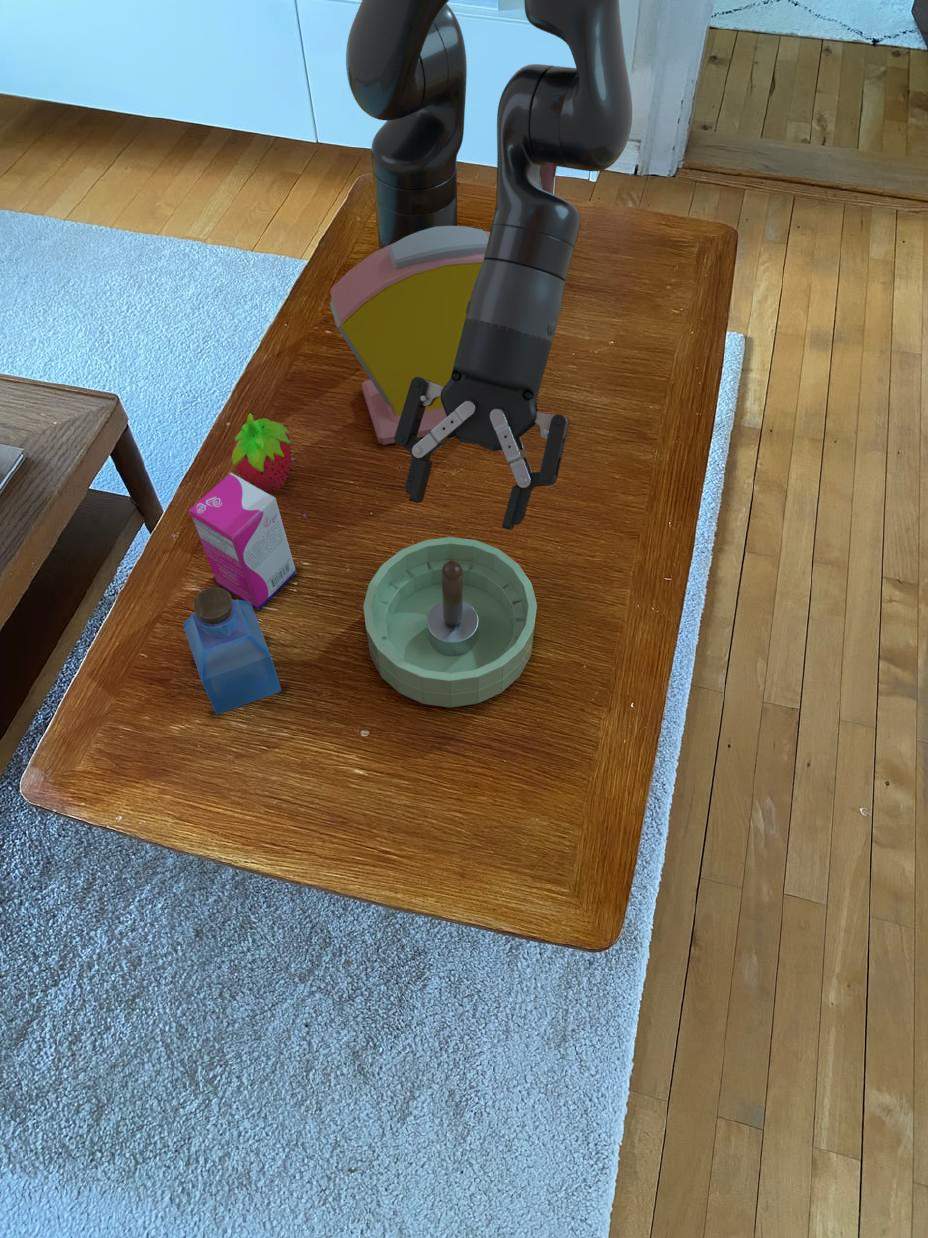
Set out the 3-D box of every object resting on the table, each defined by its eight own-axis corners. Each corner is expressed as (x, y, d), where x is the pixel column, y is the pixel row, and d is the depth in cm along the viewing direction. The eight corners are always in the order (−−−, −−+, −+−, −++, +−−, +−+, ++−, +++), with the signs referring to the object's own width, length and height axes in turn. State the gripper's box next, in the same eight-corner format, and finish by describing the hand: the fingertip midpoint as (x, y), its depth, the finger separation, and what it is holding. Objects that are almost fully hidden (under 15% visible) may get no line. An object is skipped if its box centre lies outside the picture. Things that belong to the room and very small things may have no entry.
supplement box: (253, 545, 99) (231, 468, 89) (298, 573, 97) (279, 497, 87) (213, 583, 96) (186, 508, 87) (258, 612, 94) (235, 539, 85)
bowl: (360, 582, 96) (355, 548, 92) (515, 562, 98) (517, 528, 93) (378, 721, 88) (374, 691, 83) (547, 697, 89) (552, 666, 85)
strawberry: (229, 504, 102) (208, 436, 93) (259, 454, 106) (242, 385, 97) (280, 518, 101) (263, 450, 92) (309, 467, 105) (295, 398, 96)
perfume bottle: (198, 660, 91) (166, 586, 81) (262, 638, 93) (238, 563, 83) (216, 714, 88) (185, 644, 78) (281, 691, 89) (259, 619, 79)
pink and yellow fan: (523, 359, 114) (535, 190, 96) (548, 414, 109) (565, 246, 91) (339, 395, 111) (315, 227, 93) (356, 453, 106) (335, 287, 88)
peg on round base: (424, 617, 93) (420, 546, 84) (473, 610, 94) (474, 539, 84) (431, 659, 91) (428, 591, 81) (482, 652, 91) (484, 583, 82)
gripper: (596, 352, 83) (545, 534, 87) (441, 312, 86) (398, 491, 89) (586, 343, 76) (531, 542, 80) (417, 300, 78) (371, 494, 82)
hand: (460, 514), depth 84 cm, fingers open, 8 cm apart
